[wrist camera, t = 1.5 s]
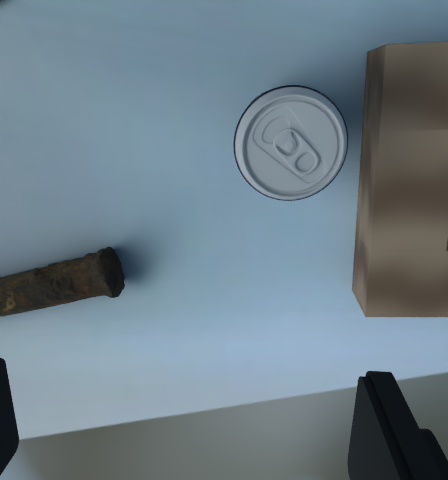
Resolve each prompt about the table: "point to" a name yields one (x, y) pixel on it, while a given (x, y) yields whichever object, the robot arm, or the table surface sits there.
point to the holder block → (403, 184)
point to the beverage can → (290, 142)
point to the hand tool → (62, 283)
